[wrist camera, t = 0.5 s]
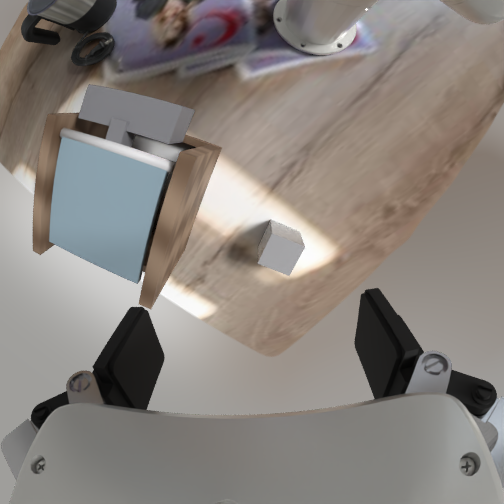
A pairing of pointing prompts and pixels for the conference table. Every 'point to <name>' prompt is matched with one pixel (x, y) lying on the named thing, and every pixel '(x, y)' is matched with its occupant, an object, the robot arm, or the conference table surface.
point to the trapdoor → (113, 179)
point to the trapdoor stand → (172, 213)
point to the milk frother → (71, 25)
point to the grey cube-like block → (280, 247)
